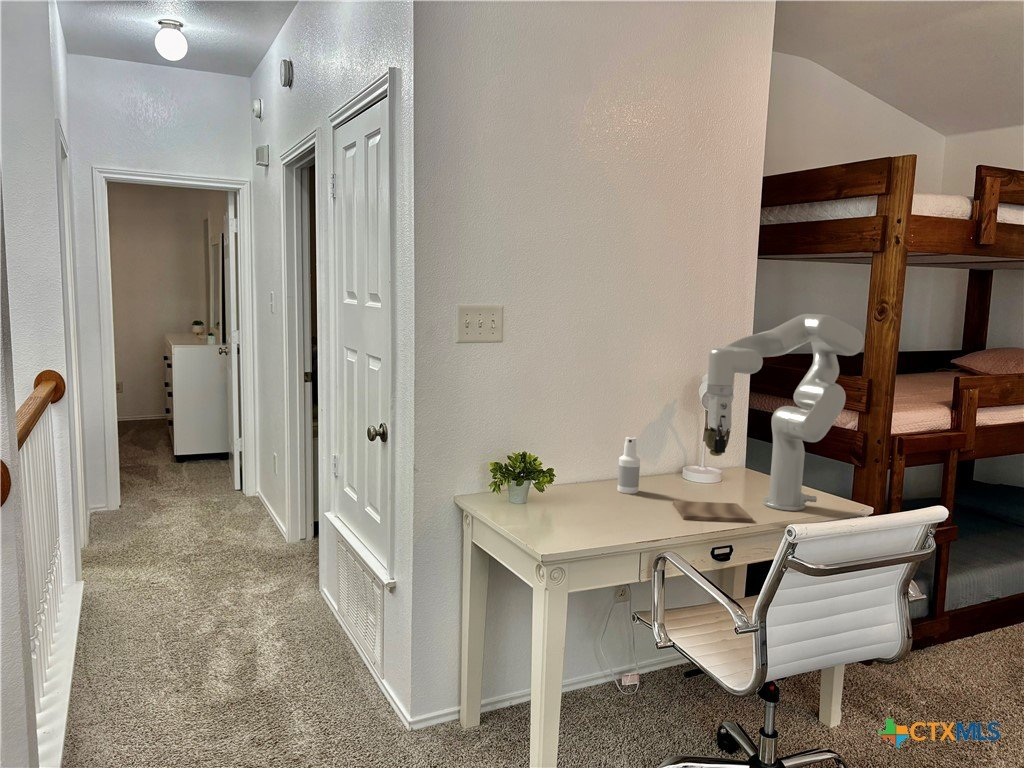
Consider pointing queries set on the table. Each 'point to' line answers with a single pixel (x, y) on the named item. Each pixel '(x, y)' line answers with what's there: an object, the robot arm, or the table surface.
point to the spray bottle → (629, 468)
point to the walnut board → (712, 511)
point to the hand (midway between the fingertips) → (716, 449)
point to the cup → (710, 438)
